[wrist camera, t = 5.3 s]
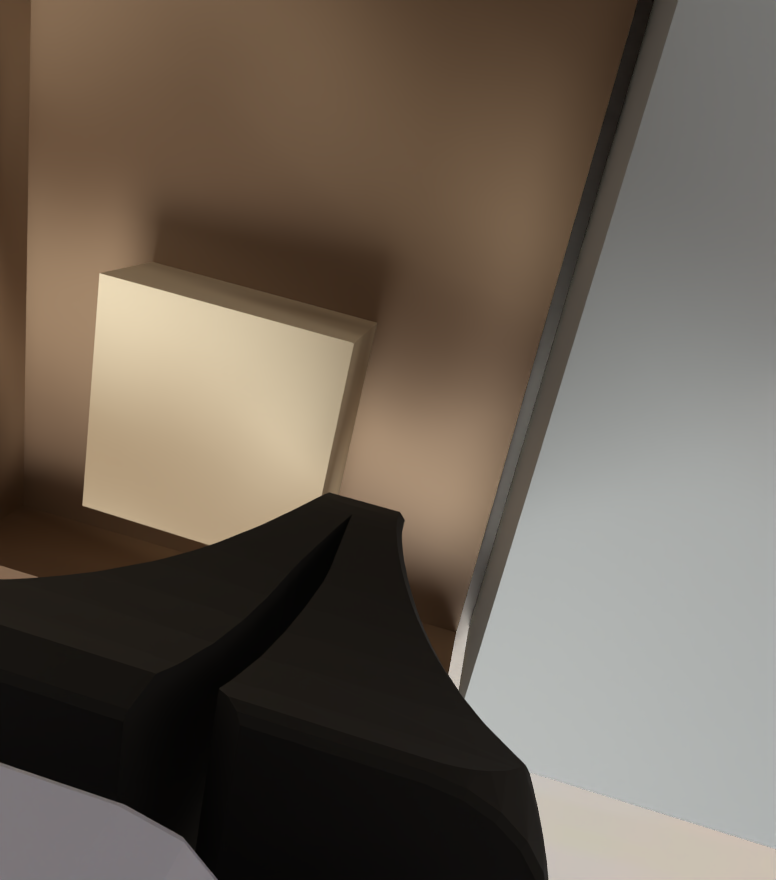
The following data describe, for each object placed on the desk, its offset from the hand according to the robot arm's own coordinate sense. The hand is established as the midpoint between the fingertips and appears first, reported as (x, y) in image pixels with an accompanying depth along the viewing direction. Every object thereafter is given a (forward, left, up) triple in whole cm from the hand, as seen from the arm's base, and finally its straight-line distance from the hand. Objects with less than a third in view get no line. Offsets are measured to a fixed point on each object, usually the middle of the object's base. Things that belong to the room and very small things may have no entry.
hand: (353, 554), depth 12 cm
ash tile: (0, +4, -2) cm, 4 cm away
